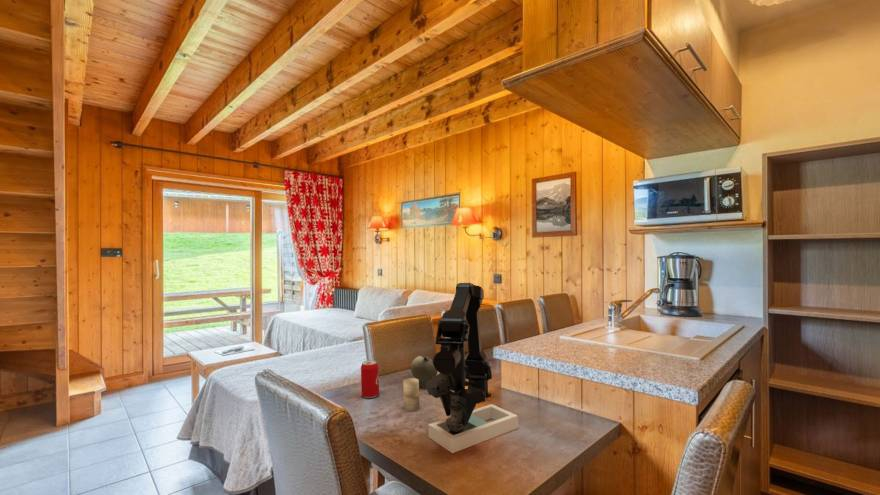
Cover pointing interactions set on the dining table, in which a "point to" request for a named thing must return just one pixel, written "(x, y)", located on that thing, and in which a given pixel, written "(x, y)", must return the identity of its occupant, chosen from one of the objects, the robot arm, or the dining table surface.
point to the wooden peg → (411, 394)
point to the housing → (474, 428)
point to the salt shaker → (455, 416)
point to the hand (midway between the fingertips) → (456, 420)
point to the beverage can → (370, 379)
